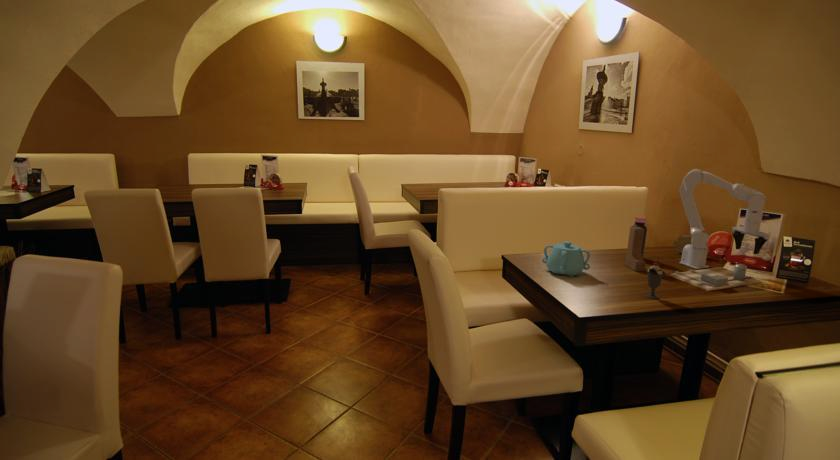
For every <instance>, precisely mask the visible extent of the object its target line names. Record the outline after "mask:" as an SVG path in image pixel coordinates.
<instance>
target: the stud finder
mask: <svg viewBox="0 0 840 460" xmlns="http://www.w3.org/2000/svg"><path fill="white" fill-rule="evenodd" d="M701 281H704V282H706V283H709V284H712V285H714V286H715V287H718V286H725V285H727V282H728V278H726V277H724V276H721V275H718V274H715V273H705V274H702V275H701Z"/></svg>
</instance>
